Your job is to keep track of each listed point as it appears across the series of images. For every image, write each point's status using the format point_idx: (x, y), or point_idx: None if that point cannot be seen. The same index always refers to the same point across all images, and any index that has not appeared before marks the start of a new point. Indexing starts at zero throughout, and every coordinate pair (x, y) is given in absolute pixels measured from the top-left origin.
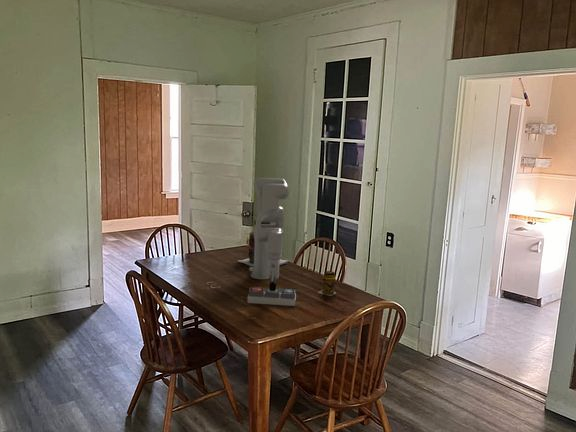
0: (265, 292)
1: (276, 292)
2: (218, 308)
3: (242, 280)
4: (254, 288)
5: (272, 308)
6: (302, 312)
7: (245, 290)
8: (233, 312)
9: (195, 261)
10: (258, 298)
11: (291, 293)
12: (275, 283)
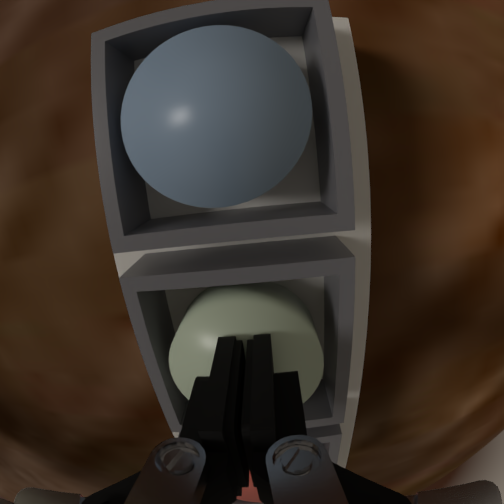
0: (343, 418)
1: (286, 304)
2: (415, 482)
3: (17, 445)
4: (248, 494)
5: (439, 258)
6: (451, 6)
7: (116, 457)
8: (469, 429)
9: (12, 500)
10: (353, 415)
11: (278, 48)
12: (276, 435)
